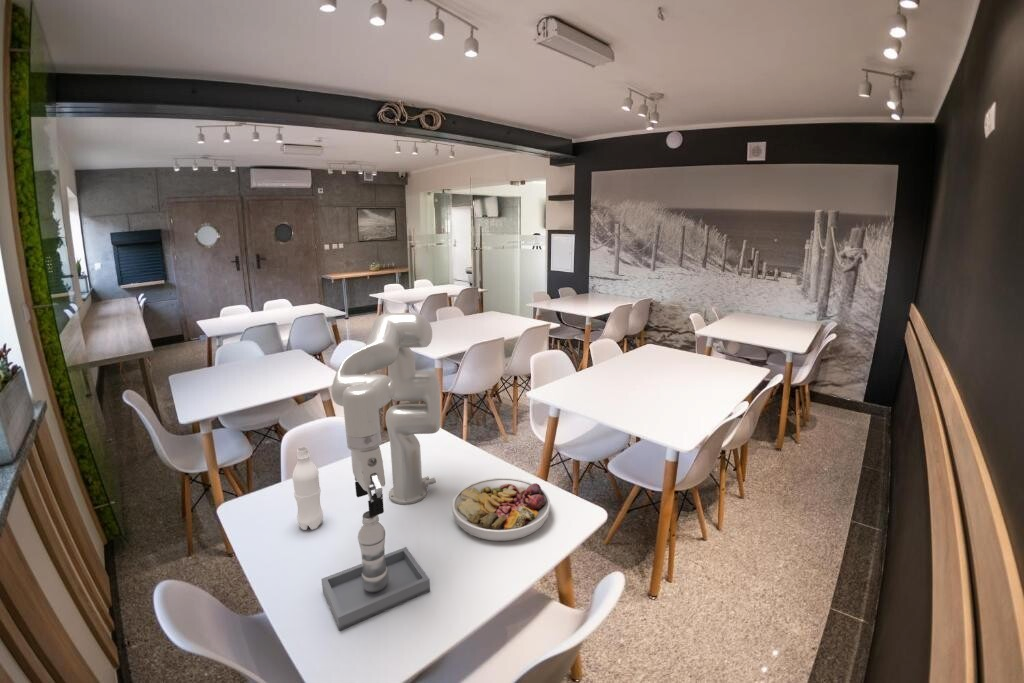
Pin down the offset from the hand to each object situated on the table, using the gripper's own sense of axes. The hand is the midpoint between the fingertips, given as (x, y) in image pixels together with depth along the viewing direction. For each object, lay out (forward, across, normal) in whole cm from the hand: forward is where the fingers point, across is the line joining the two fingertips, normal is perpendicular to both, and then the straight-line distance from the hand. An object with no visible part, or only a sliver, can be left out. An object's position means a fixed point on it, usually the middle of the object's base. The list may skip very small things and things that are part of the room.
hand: (369, 504), depth 118 cm
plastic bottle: (+23, 0, 0) cm, 23 cm away
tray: (+24, -1, 0) cm, 24 cm away
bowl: (+25, +9, -43) cm, 50 cm away
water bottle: (+24, +37, +7) cm, 45 cm away
